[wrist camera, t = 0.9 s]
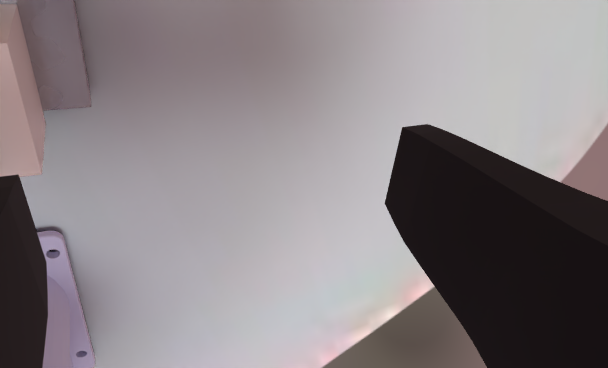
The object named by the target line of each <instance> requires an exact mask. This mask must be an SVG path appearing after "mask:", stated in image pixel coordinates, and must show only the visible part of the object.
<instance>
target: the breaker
mask: <svg viewBox="0 0 608 368" xmlns="http://www.w3.org/2000/svg"><path fill="white" fill-rule="evenodd" d="M45 128H46V122H45V118H44V114H43V110H42V106H41V102H40V98H39V94H38V89H37V85H36V81H35V77H34V73H33V69H32V65H31V61H30V57H29V52H28V48H27V44H26V40H25V36H24V32H23V28H22V24H21V20H20V16H19V11H18V7H17V4H0V177H1V176H10V175H19V177H22V176H31V175H40V174H42V167H43V154H44V141H45Z"/></svg>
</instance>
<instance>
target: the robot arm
mask: <svg viewBox="0 0 608 368" xmlns="http://www.w3.org/2000/svg"><path fill="white" fill-rule="evenodd" d="M385 205H386V207H387V209H388V211H389V213H390V215H391V217H392V219H393V222H394V224H395V226H396V228H397V229H398V231H399V233H400V235H401V237H402V239H403V241H404V242H405V244H406V245H407V247H408V248H409V250H410V251H411V253H412V254H413V256H414V257H415V259H416V260H417V262H418V263H419V264H420V266H421V267H422V269H423V270H424V272H425V273H426V275H427V276H428V277H429V279H430V280H431V282H432V283H433V284H434V286H435V287H436V289H437V290H438V292H439V293H440V294H441V296H442V297H443V299H444V300H445V301H446V303H447V304H448V306H449V307H450V309H451V310H452V311H453V313H454V314H455V315H456V317H457V318H458V320H459V321H460V322H461V324H462V326H463V327H464V329H465V330H466V332H467V334H468V335H469V337H470V338H471V340H472V341H473V343H474V345H475V347H476V348H477V350H478V352H479V354H480V356H481V357H482V359H483V361H484V363H485V365H486V366H487V368H608V201H606V200H603V199H600V198H598V197H595V196H592V195H590V194H587V193H585V192H582V191H580V190H577V189H575V188H572V187H570V186H568V185H565V184H563V183H560V182H558V181H555V180H553V179H551V178H548V177H546V176H544V175H542V174H539V173H537V172H535V171H532V170H530V169H528V168H526V167H524V166H521V165H519V164H517V163H515V162H513V161H511V160H508V159H506V158H504V157H502V156H500V155H498V154H496V153H493V152H491V151H489V150H487V149H485V148H483V147H481V146H478V145H476V144H474V143H472V142H470V141H468V140H465V139H463V138H461V137H459V136H456V135H454V134H452V133H449V132H447V131H445V130H442V129H440V128H437V127H434V126H431V125H428V124H425V125H417V126H409V127H402V131H401V135H400V140H399V144H398V148H397V153H396V157H395V161H394V166H393V170H392V174H391V179H390V183H389V187H388V192H387V196H386V200H385ZM51 249H56V250H58V251H56V252H50V251H48V250H51ZM94 365H95V356H94V352H93V348H92V344H91V341H90V337H89V333H88V329H87V325H86V321H85V317H84V314H83V310H82V306H81V302H80V298H79V294H78V290H77V287H76V283H75V279H74V275H73V271H72V267H71V263H70V260H69V256H68V252H67V248H66V244H65V240H64V237H63V235H62V234H61V233H59V232H57V231H43V232H37V231H36V228H35V225H34V222H33V219H32V215H31V212H30V209H29V206H28V203H27V200H26V197H25V194H24V190H23V187H22V184H21V181H20V178H19V175H10V176H1V177H0V368H93V367H94Z"/></svg>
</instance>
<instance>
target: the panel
mask: <svg viewBox="0 0 608 368" xmlns="http://www.w3.org/2000/svg"><path fill="white" fill-rule="evenodd" d="M0 4H17V7H18V11H19V16H20V20H21V24H22V28H23V32H24V36H25V40H26V44H27V48H28V52H29V57H30V61H31V65H32V69H33V73H34V77H35V81H36V85H37V89H38V94H39V98H40V102H41V106H42V110H55V109H68V108H81V107H91V98H90V87H89V82H88V76H87V70H86V65H85V59H84V53H83V48H82V42H81V36H80V31H79V25H78V19H77V13H76V8H75V2H74V0H0Z"/></svg>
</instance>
